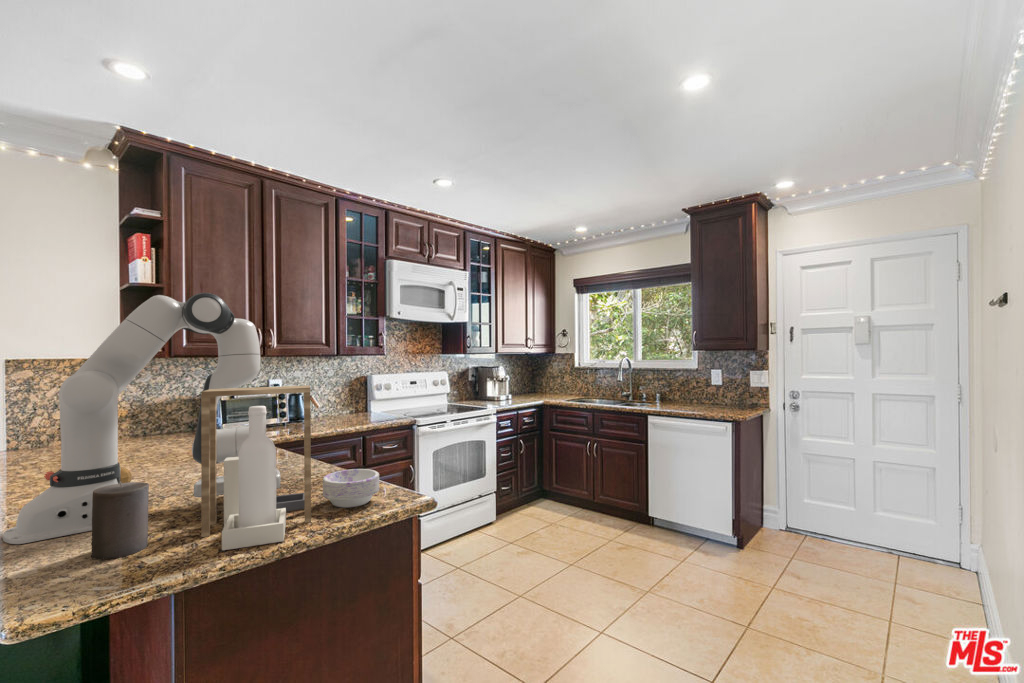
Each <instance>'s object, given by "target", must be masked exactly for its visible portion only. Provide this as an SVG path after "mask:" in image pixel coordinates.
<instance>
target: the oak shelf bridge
mask: <svg viewBox="0 0 1024 683" xmlns="http://www.w3.org/2000/svg"><path fill="white" fill-rule="evenodd" d="M298 393H299V394H301V393H303V449H304V450H303V452H304V453H303V459H304V460H303V462H304V463H303V464H304V465H303V466H304V468H303V471H304V473H303V474H304V478H303V479H304V482H303V485H304V490H303V491H304V492H303V493H304V494H305V509H304V523H305V524H306V523H307V524H308V523H312V462H311V461H312V459H311V457H312V456H311V455H312V453H311V452H312V448H311V446H312V445H311V442H312V440H311V439H312V438H311V435H312V434H311V433H312V432H311V428H312V427H311V420H312V419H311V418H312V417H311V385H310V384H309V385H286V386H285V385H284V386H282V385H281V386H262V387H261V386H260V387H238V388H229V389H209V390H205V391H203V390H202V391H201V392H200V394H201V395H200V396H201V398H200V399H201V400H200V405H201V464H200V465H201V468H200V470H201V471H200V472H201V475H200V476H201V478H200V480H201V497H200V498H201V499H200V500H201V503H200V504H201V509H200V511H201V513H200V514H201V517H200V519H201V520H200V521H201V523H200V524H201V530H200V531H201V532H200V533H201V537H200V538H207V537H210V535H211V526H214V525H217V520H218V519H217V509H218V508H217V496H216V477H217V464H216V429H217V411H216V396H222V397H231V396H233V397H234V396H253V395H276V394H298Z"/></svg>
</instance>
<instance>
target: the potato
mask: <svg viewBox="0 0 1024 683" xmlns="http://www.w3.org/2000/svg"><path fill="white" fill-rule="evenodd" d="M132 478H133V476H132V472H131V471H130V470H129V469H128V468H125V467H122V466H120V481H121V483H129V482H132ZM119 484H120V483H119Z"/></svg>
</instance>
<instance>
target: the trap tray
mask: <svg viewBox="0 0 1024 683" xmlns="http://www.w3.org/2000/svg"><path fill="white" fill-rule="evenodd" d="M281 508H286V512H291V511H299V510H305V494H304V492H300V493H299V492H296V493H289V494H280V495H276V509H281Z"/></svg>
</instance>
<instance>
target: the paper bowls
mask: <svg viewBox="0 0 1024 683" xmlns="http://www.w3.org/2000/svg"><path fill="white" fill-rule="evenodd" d="M379 491H380V473H379V472H378V471H376V470H374V469H369V468H352V469H345V470H344V469H343V470H339V471H338V470H337V471H334V472H331V473H328V474H326V475H324V477H322V496H323V498H324V499H327V500H329V501H330V502H331V504H332V505H333V506H334V507H337V508H345V509H346V508H348V509H349V508H356V507H360V506H363V505H366V504H368V503H369V502H370V501H371V500H372V498H373V496H374V495H375V494H377V493H378V492H379Z"/></svg>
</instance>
